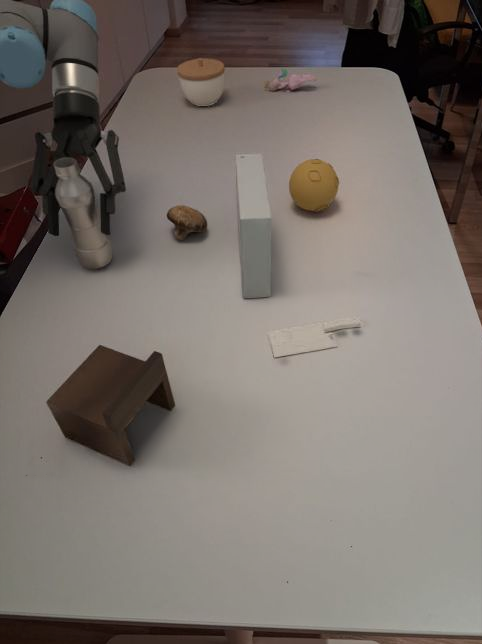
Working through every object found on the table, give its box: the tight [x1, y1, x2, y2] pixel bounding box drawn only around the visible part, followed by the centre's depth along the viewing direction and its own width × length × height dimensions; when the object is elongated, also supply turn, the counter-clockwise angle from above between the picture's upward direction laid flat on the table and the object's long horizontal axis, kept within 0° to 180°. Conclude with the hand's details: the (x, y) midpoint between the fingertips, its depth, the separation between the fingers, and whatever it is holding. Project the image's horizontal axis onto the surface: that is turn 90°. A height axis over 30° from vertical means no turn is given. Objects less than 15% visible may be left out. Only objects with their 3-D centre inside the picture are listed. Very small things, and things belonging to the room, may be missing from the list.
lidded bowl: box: [176, 57, 226, 105], centre depth 145 cm, size 13×13×11 cm
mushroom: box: [166, 204, 208, 241], centre depth 104 cm, size 8×8×6 cm
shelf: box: [45, 344, 176, 467], centre depth 71 cm, size 11×11×11 cm
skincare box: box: [234, 153, 272, 299], centre depth 93 cm, size 21×5×16 cm, turn 4°
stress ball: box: [288, 158, 340, 213], centre depth 107 cm, size 10×10×10 cm
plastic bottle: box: [54, 157, 113, 270], centre depth 93 cm, size 6×7×20 cm
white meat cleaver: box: [266, 316, 362, 359], centre depth 84 cm, size 5×15×1 cm, turn 101°
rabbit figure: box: [263, 68, 318, 92], centre depth 151 cm, size 6×6×15 cm
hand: (79, 233), depth 92 cm, fingers open, 8 cm apart
